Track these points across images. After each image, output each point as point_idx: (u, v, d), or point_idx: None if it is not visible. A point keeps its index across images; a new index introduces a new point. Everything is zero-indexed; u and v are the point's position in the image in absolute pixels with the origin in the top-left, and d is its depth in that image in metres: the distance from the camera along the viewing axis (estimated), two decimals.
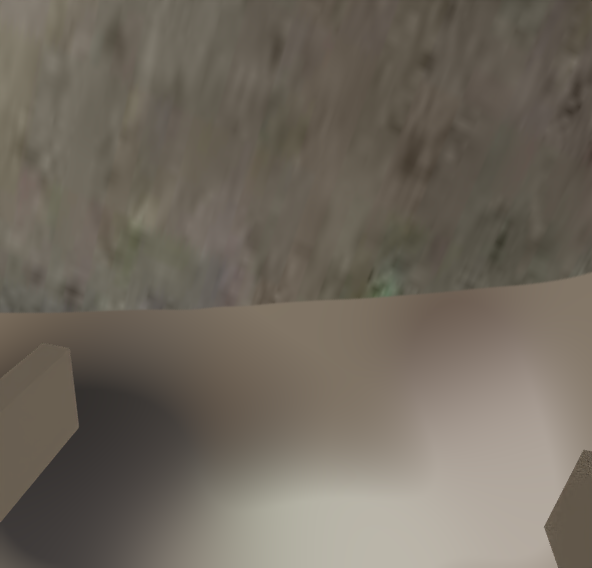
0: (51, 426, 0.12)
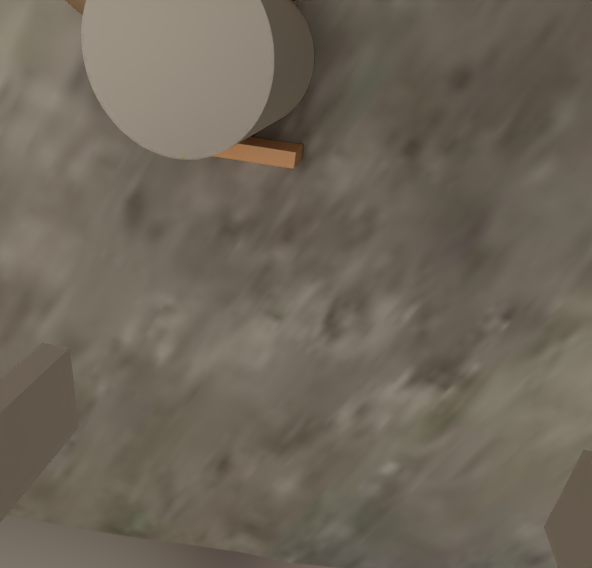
0: (51, 426, 0.12)
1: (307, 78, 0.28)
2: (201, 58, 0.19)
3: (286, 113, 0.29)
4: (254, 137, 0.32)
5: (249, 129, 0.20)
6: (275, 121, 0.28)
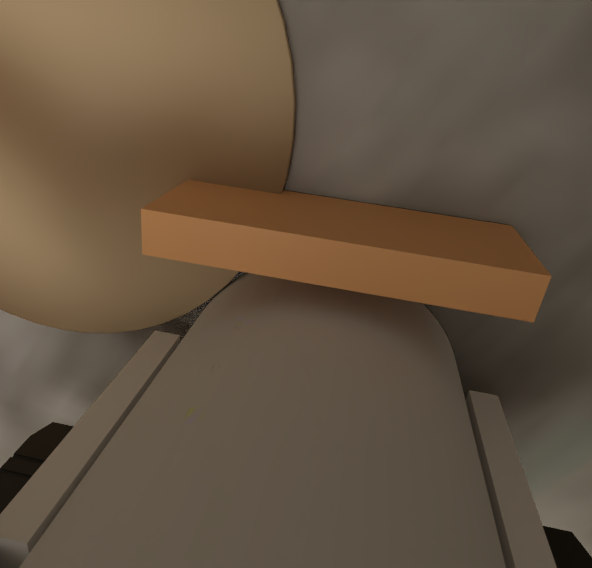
0: None
1: None
2: None
3: None
4: None
5: None
6: None
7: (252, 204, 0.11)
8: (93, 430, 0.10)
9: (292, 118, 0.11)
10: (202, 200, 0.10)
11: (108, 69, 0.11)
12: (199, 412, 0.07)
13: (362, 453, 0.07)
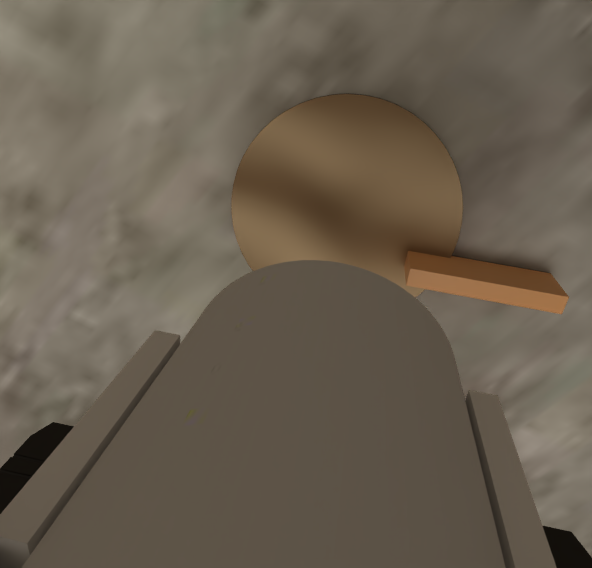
0: None
1: None
2: None
3: None
4: None
5: None
6: None
7: (445, 264, 0.26)
8: (93, 430, 0.10)
9: (460, 227, 0.26)
10: (426, 263, 0.26)
11: (382, 206, 0.26)
12: (200, 414, 0.07)
13: (363, 455, 0.07)
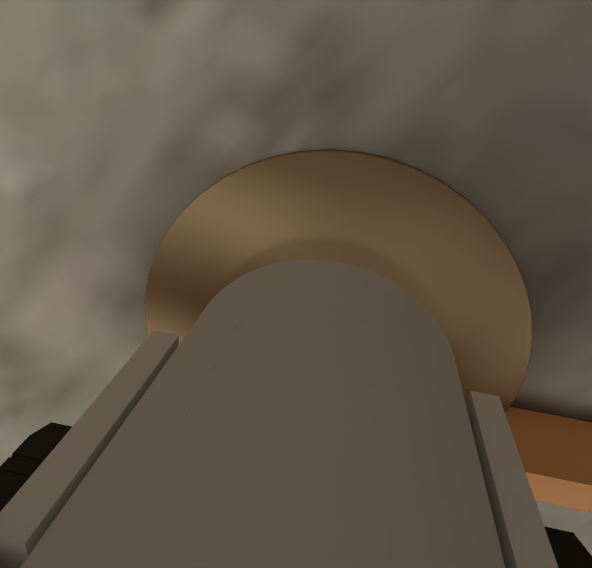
0: None
1: None
2: None
3: None
4: None
5: None
6: None
7: None
8: (92, 430, 0.10)
9: (525, 368, 0.15)
10: None
11: None
12: (199, 413, 0.07)
13: (361, 454, 0.07)
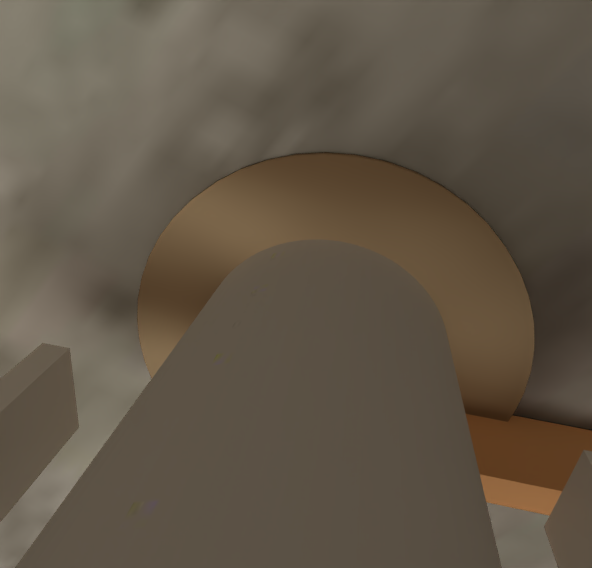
0: (51, 426, 0.12)
1: None
2: None
3: None
4: None
5: None
6: None
7: (502, 444, 0.15)
8: None
9: (527, 376, 0.15)
10: None
11: None
12: (225, 357, 0.09)
13: (363, 386, 0.08)
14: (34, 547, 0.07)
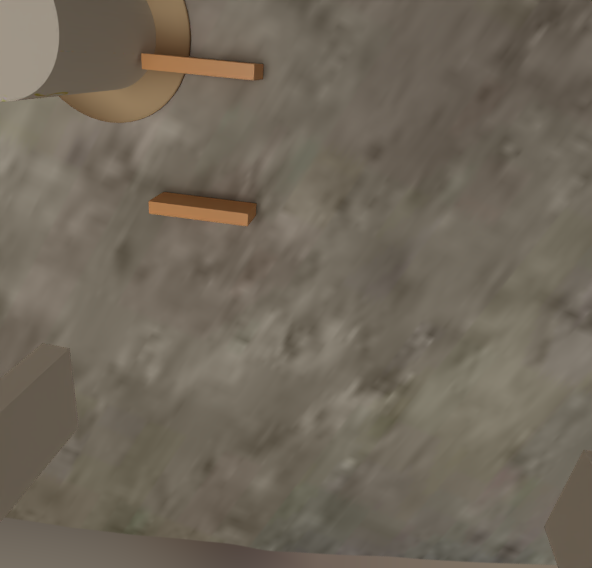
0: (51, 426, 0.12)
1: (145, 44, 0.33)
2: (3, 15, 0.24)
3: (131, 75, 0.34)
4: (217, 199, 0.40)
5: (49, 73, 0.25)
6: (119, 81, 0.33)
7: None
8: None
9: (188, 29, 0.34)
10: None
11: None
12: None
13: None
14: None
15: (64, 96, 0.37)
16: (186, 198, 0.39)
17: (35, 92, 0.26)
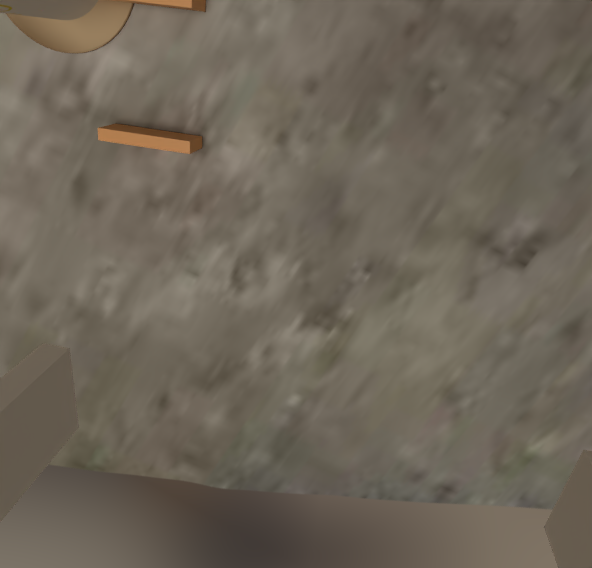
0: (51, 426, 0.12)
1: None
2: None
3: (80, 2, 0.36)
4: (165, 131, 0.42)
5: None
6: (66, 6, 0.35)
7: None
8: None
9: None
10: None
11: None
12: None
13: None
14: None
15: (21, 26, 0.40)
16: (136, 128, 0.41)
17: None
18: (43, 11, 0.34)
